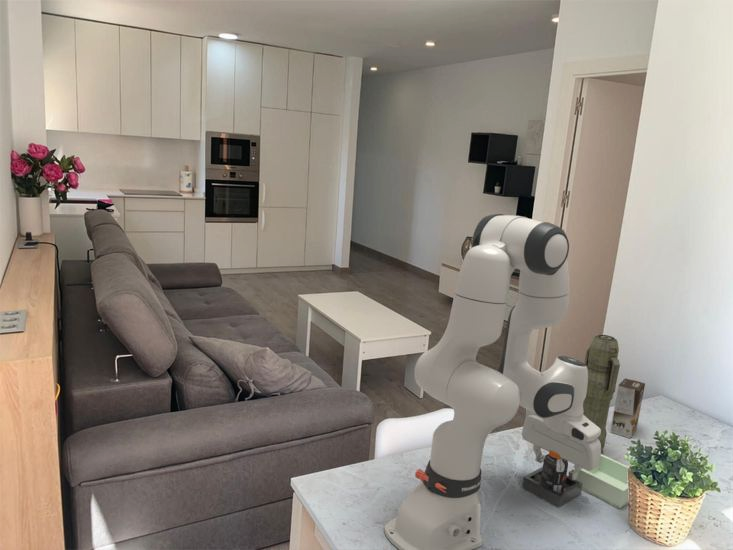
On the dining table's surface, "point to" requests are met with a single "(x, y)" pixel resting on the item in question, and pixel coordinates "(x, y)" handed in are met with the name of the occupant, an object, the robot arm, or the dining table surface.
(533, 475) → the dark grey shallow tray
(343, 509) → the dining table surface
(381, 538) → the dining table surface
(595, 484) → the bin
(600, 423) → the thermos
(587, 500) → the dining table surface
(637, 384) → the coffee box
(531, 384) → the robot arm
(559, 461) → the pill bottle
